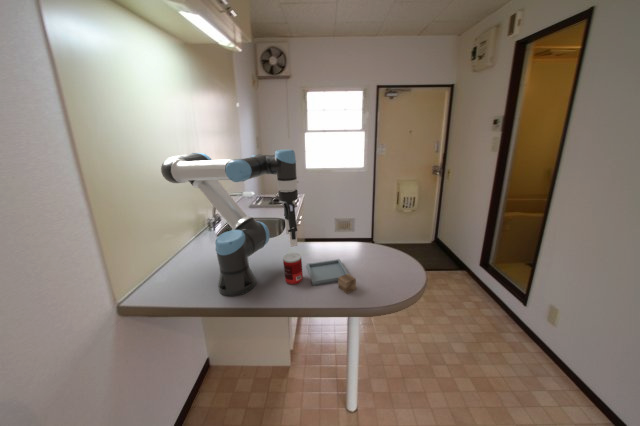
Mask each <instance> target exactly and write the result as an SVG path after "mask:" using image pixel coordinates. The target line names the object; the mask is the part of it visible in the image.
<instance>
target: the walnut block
mask: <svg viewBox="0 0 640 426" xmlns="http://www.w3.org/2000/svg"><path fill="white" fill-rule="evenodd" d="M337 283H338V284H337V286H338V287H337V288H338V289H339V290H340V291H342V292H343V293H344V294H345V295H346V294H349V293H351V292H353V291H356V290H357V279H356V277H354V276H352V275H351V274H349V273H348V274H346V275H343V276H341V277H338V282H337Z"/></svg>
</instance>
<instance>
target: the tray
mask: <svg viewBox="0 0 640 426" xmlns="http://www.w3.org/2000/svg"><path fill="white" fill-rule="evenodd" d="M305 266H306V269H307V270H306V271H307V273H308V276H309V279H310V281H311V284H312V286H314V287H315V286H320V285H326V284H332V283H333V284H334V283H338V277H341V276H343V275H346V274H349V273H348V271H347V269H346V268H345V265H344V264H343V263H342V261H341V259H340V258H338V259H332V260H331V259H330V260H325V261H317V262H311V263H306V265H305Z"/></svg>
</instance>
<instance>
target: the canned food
mask: <svg viewBox="0 0 640 426" xmlns="http://www.w3.org/2000/svg"><path fill="white" fill-rule="evenodd" d="M282 262H283V271H284V272H283V273H284V280H285V282H286V284H289V285H296V284H297V285H298V284H300V283H301V282H302V281H303V277H304V276H303V261H302V255H301V254H300V253H298V252H297V253H296V252H291V253H286V254H285V255H284V256H283V258H282Z"/></svg>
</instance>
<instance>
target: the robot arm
mask: <svg viewBox="0 0 640 426" xmlns="http://www.w3.org/2000/svg"><path fill="white" fill-rule="evenodd" d="M160 167H161V168H160V172H161V174H162V177H163V178H164V179H165V180H166V181H168V182H169V183H172V184H185V183H187V182H188V183H190V184H191V186H193V188H195V189H199V190H200V191H201V192H202V193H203V195H204V196H205V197H206V199H208V201H209V202H210V203H211V204H212V206H213V207H214V208H215V209H216V211H217V212H218V213H219V214H220V216H221V217H222V218H223V219H224V220H225V222H226V223H227V224H228V225H229V226H230V227H231V230H230V229H229V231H225V232H223V233H221V234H219V235H218V236H217V237H216V239H215V243H214V244H215V252H216V256H217V261H218V267H219V277H218V283H217V287H218V292H219V293H220V294H222V295H223V296H227V297H234V296H235V297H236V296H240V295H241V296H242V295H243V294H246V293H248V292H250V291H251V290H253V289H254V287H255V286H256V278H255V275H254V273H253V271H252V269H251V268H250V265H249V257H251V256H252V255H253V254H254V253H256V252H258V251H259V250H261V249H263V248H264V247H265V245H267V244H268V242H269V241H270V230H269V227H268V225H266V224H265V223H264V222H263V221H257V220H255V218H254V217H252V216H248V215H247V214H246V213H245V212H244V210H243V209H242V208H241V207H240V205H238V203H237V202H236V200H235V199H234V198H233V197H232V196H231V195H230V193H229V192H228V191H227V190H226V189H225V188H224V186H223V185H222V183H220V182H219V181H232V182H233V183H241V182H246V181H247V180H251V179H253V178H254V179H255V178H257V177H260V176H263V175H264V176H265V175H276V176H277V180H276V181H277V190H279V191H278V200H279V201H281V202H283V216H284V221H285V222H284V223H285V225H284V226H285V235H289V245H290V247H291V248H292V247H294V248H295V247H298V237H297V232H298V228H297V227H298V226H297V218H296V210H295V208H296V207H295V204H294V202H295V201H296V200H298V198H299V193H298V184H299V180H298V179H297V178H298V177H297V160H296V152H295V150H293V149H277V150H276V151H275V153H274V154H260V153H259V154H253V155H250V157H247V158H246V157H244V158H234V159H213V160H212V158H211V157H210V156H209V155H207V154H206V153H201V152H191V153H187V154H180V155H173V156H169V157H167V158H166V159H165V160H164V161H163V162H162V163H161V166H160Z"/></svg>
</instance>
